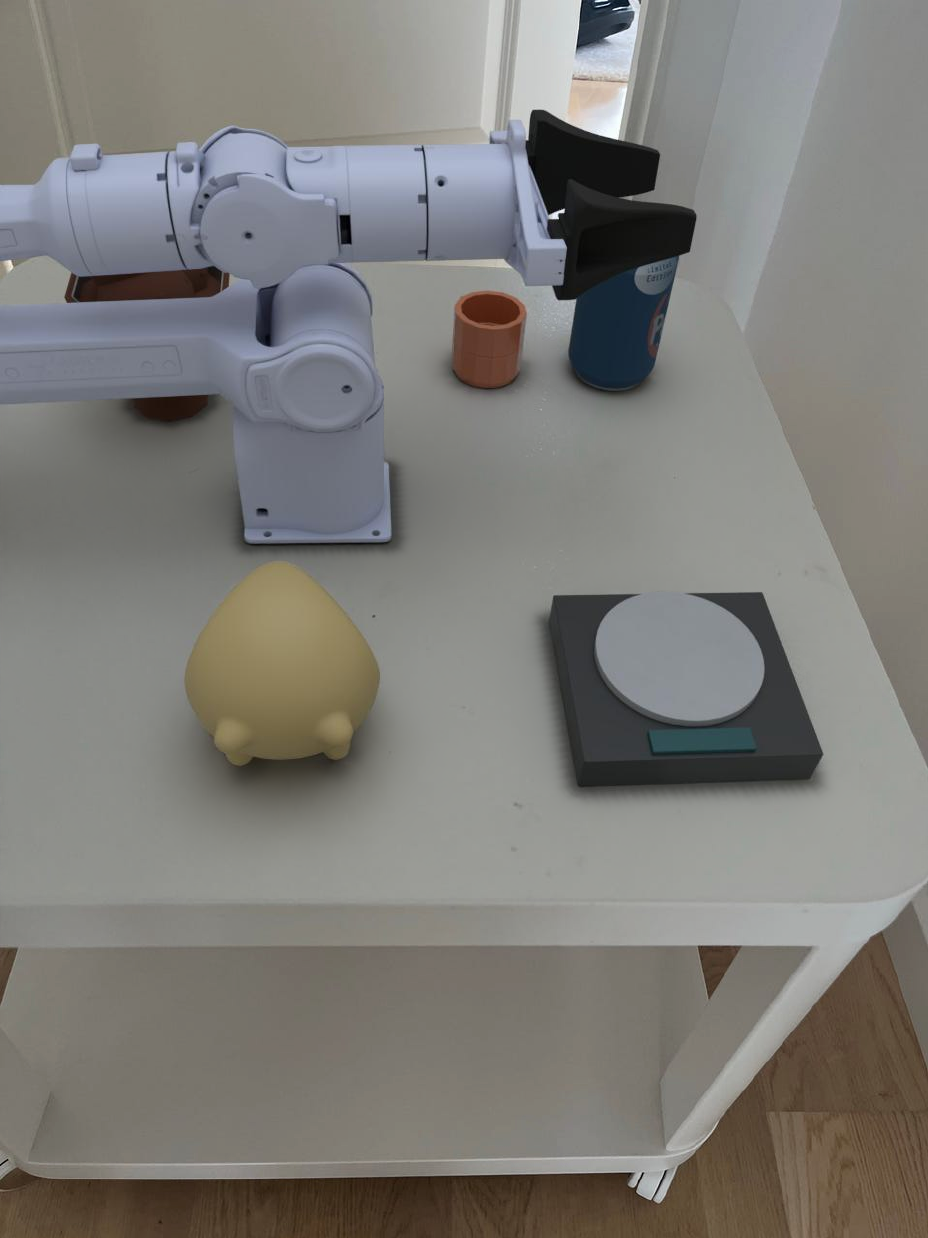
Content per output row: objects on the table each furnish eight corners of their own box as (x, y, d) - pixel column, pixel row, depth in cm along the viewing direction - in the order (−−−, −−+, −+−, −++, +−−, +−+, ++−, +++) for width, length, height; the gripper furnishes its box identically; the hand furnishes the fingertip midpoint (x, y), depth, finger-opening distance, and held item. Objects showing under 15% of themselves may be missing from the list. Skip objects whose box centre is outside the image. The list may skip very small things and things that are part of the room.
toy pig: (374, 748, 59) (371, 567, 59) (387, 779, 47) (383, 553, 47) (204, 753, 58) (201, 569, 58) (172, 787, 46) (169, 555, 46)
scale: (577, 787, 54) (585, 755, 52) (548, 621, 62) (554, 587, 60) (810, 779, 55) (828, 748, 53) (752, 617, 63) (765, 584, 61)
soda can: (662, 394, 79) (697, 250, 70) (576, 397, 78) (601, 252, 69) (638, 344, 84) (668, 204, 75) (557, 347, 83) (578, 205, 74)
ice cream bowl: (217, 454, 71) (185, 255, 60) (68, 428, 72) (10, 228, 61) (266, 371, 78) (246, 179, 67) (130, 348, 79) (88, 156, 68)
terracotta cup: (454, 390, 78) (457, 328, 74) (449, 350, 81) (452, 289, 77) (523, 390, 78) (530, 329, 74) (515, 350, 82) (521, 290, 78)
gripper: (437, 186, 45) (727, 181, 47) (413, 74, 55) (653, 72, 57) (435, 327, 51) (697, 319, 52) (414, 201, 60) (634, 196, 62)
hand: (673, 199), depth 55 cm, fingers open, 7 cm apart
